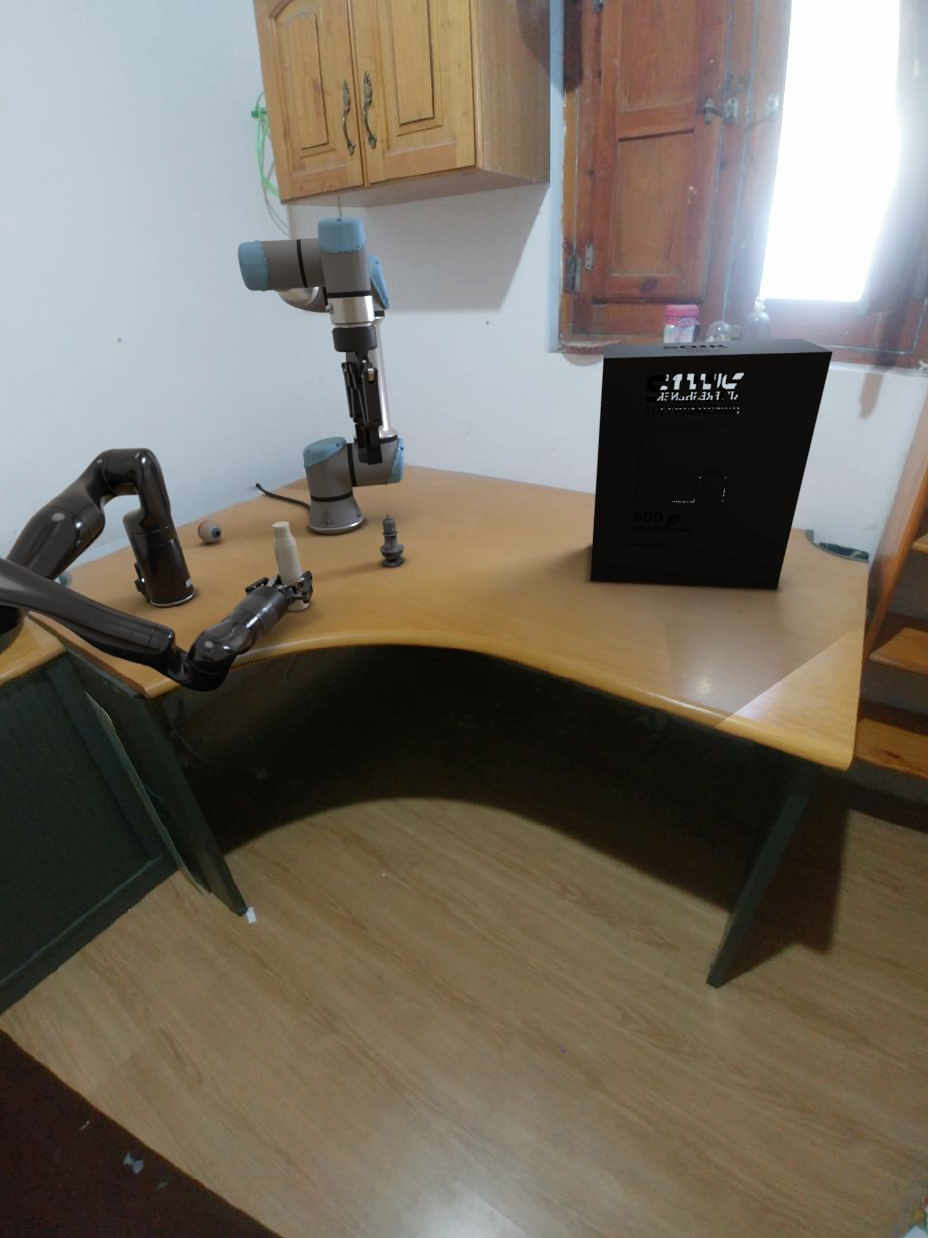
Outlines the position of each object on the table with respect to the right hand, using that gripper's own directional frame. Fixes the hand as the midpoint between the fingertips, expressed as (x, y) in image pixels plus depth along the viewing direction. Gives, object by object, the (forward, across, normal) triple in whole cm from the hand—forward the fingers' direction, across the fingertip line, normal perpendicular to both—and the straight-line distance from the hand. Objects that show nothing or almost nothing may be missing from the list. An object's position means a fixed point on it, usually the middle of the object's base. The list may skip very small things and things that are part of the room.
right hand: (370, 460), depth 115 cm
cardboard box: (+30, +21, +62) cm, 71 cm away
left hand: (+23, -9, -16) cm, 30 cm away
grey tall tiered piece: (+30, -16, +8) cm, 35 cm away
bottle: (+30, -7, -18) cm, 35 cm away
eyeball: (+30, -56, -30) cm, 70 cm away
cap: (-2, 0, 0) cm, 2 cm away
